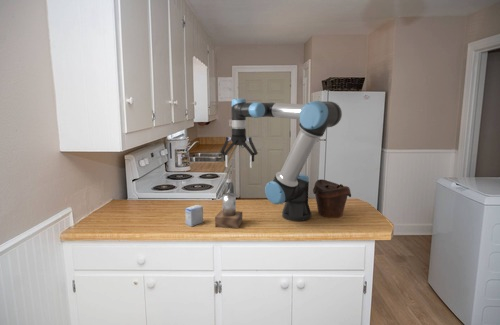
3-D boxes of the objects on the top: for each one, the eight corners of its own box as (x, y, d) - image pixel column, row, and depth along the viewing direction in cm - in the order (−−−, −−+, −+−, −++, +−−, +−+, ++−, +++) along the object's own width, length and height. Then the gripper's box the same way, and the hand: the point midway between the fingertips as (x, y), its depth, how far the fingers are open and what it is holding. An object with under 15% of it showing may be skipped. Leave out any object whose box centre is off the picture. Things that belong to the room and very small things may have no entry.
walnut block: (242, 221, 176) (242, 211, 175) (237, 228, 165) (237, 218, 164) (221, 219, 178) (221, 210, 177) (215, 227, 167) (215, 217, 166)
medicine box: (197, 220, 176) (197, 204, 175) (203, 222, 173) (203, 206, 172) (185, 224, 170) (184, 208, 169) (191, 227, 167) (190, 209, 166)
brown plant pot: (351, 220, 176) (353, 186, 173) (311, 218, 180) (312, 184, 177) (348, 210, 193) (350, 179, 191) (312, 208, 197) (313, 178, 195)
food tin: (237, 212, 173) (237, 193, 171) (234, 216, 167) (233, 196, 165) (224, 211, 174) (224, 192, 173) (220, 215, 168) (220, 196, 166)
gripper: (262, 127, 186) (262, 166, 190) (218, 127, 191) (218, 165, 194) (260, 128, 179) (260, 169, 182) (214, 128, 184) (214, 167, 187)
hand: (238, 167), depth 188 cm, fingers open, 13 cm apart
